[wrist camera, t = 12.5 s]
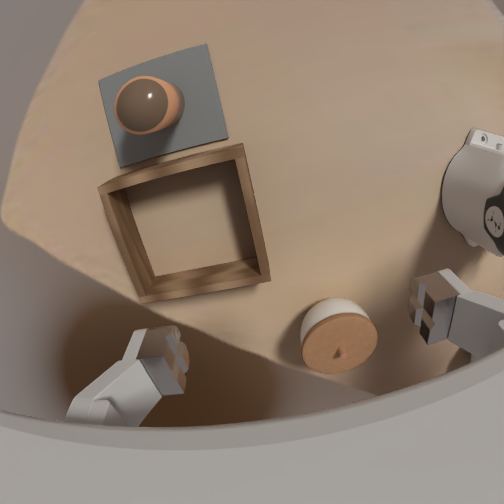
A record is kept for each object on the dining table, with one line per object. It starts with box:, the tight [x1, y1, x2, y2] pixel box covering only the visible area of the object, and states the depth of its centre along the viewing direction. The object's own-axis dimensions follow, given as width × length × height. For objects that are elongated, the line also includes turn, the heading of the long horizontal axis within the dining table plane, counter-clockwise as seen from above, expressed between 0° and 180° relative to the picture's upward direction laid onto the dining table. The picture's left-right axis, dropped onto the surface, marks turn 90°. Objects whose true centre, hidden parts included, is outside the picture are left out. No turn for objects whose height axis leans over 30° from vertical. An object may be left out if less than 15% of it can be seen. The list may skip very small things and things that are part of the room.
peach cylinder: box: [114, 76, 185, 135], centre depth 29 cm, size 6×6×7 cm
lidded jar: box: [300, 297, 378, 374], centre depth 42 cm, size 11×11×9 cm
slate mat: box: [99, 44, 229, 168], centre depth 33 cm, size 14×12×1 cm
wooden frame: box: [97, 143, 271, 304], centre depth 37 cm, size 17×16×5 cm
